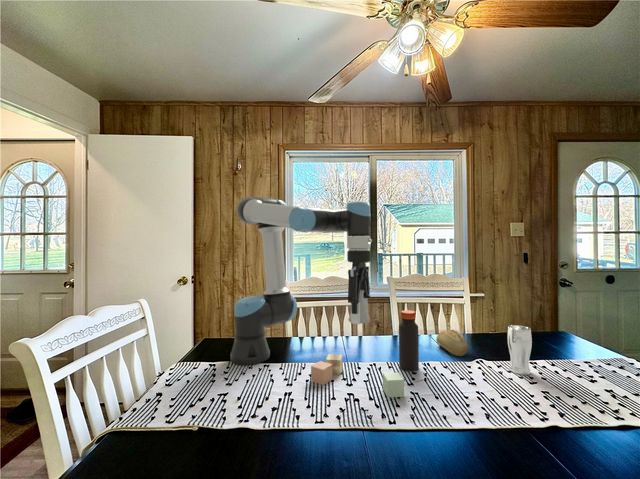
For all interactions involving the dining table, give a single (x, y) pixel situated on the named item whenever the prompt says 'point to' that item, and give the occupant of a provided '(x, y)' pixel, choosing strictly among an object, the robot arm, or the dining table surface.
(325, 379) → the terracotta block
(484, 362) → the dining table surface
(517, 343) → the beer glass
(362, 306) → the flask
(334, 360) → the maple block
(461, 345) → the bread roll
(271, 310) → the robot arm
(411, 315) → the bottle
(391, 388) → the sage block
